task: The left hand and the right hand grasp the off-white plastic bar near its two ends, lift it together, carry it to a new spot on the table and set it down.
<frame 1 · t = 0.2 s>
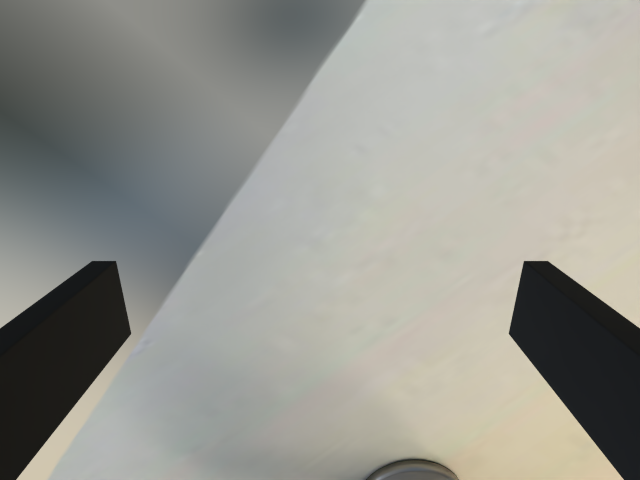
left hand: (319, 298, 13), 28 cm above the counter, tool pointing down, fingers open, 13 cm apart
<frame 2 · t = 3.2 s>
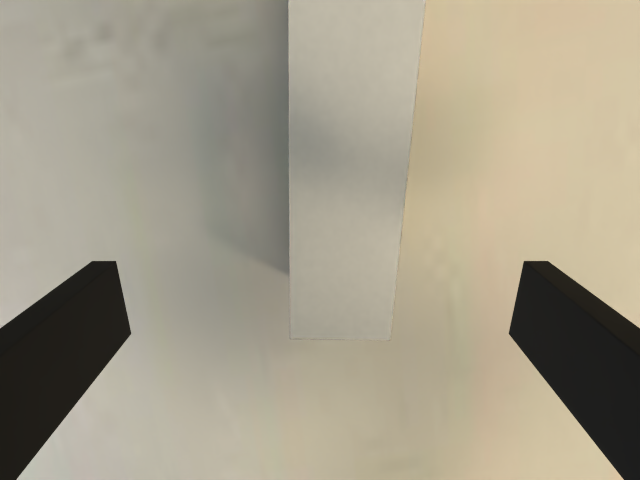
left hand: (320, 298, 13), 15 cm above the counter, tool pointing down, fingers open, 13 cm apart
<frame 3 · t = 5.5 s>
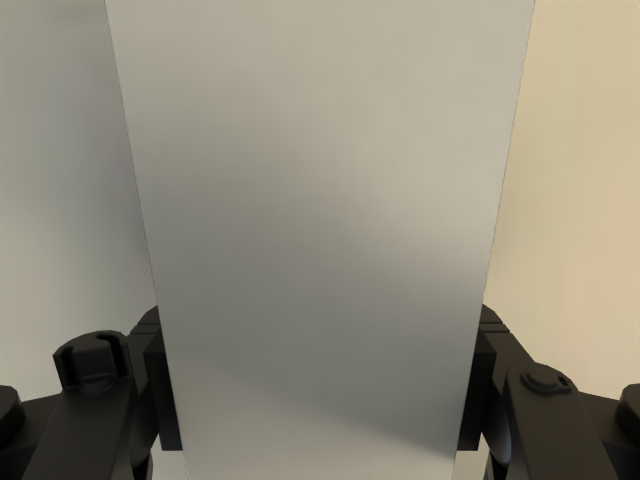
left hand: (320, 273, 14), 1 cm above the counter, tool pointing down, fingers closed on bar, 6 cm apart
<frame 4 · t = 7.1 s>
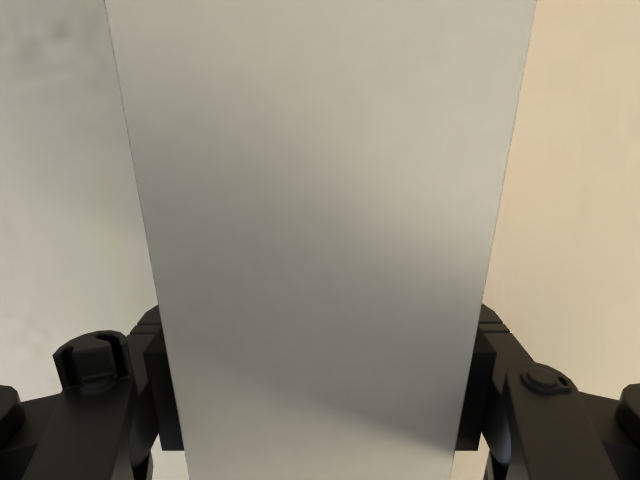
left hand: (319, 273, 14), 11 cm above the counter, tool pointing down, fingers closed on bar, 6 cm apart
when the left hand's fingers open (2 cm above the counter, at t = 11.2 s): bar stays where it is, on the counter.
when the right hand's fingers open (2 cm above the counter, at t = 11.2 s): bar stays where it is, on the counter.
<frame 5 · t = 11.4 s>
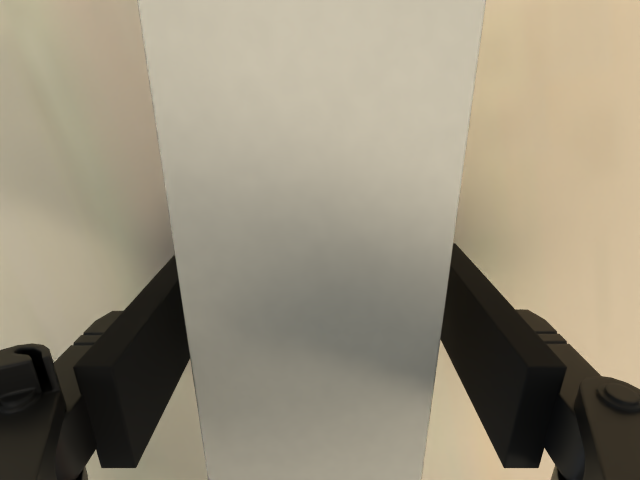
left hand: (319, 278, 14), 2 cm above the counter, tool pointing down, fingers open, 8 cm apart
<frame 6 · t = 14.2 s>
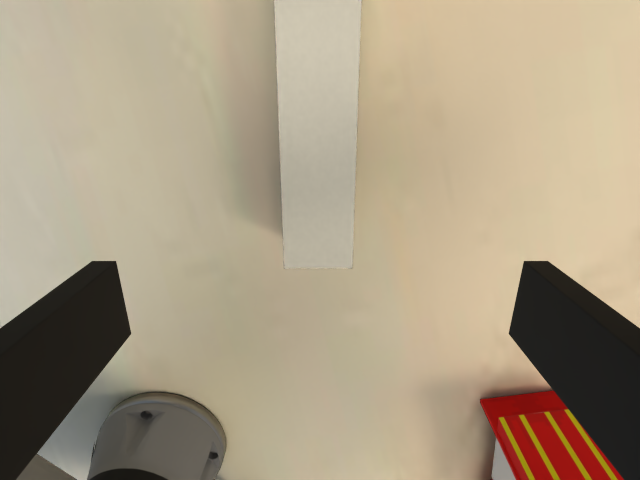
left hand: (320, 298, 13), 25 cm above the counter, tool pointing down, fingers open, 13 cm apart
toy: (515, 472, 51), on the counter
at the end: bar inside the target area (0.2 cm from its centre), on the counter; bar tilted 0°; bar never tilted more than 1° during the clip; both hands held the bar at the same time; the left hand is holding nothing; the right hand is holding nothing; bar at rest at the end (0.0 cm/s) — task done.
